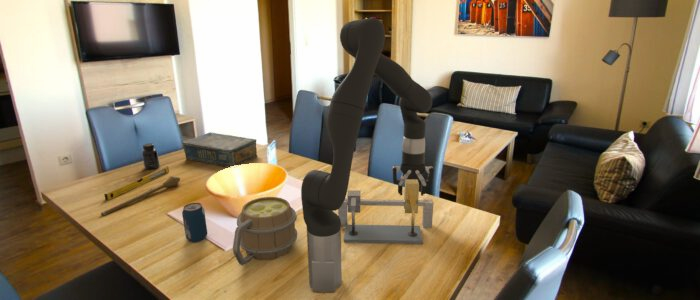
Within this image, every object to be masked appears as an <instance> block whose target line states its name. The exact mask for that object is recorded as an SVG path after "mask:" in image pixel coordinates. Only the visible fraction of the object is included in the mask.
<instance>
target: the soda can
mask: <svg viewBox="0 0 700 300" xmlns="http://www.w3.org/2000/svg"><path fill="white" fill-rule="evenodd" d="M182 209H183V210H182V213H181V214H182V221H183V226H184V227H183V228H184V235H185V238H186V240H187V241H188V242H189V243H194V244H197V243H201V242H203V241H204V240H205V239H206V238H207V236H208V228H207V219H206V213H205V212H206V211H205V208H204V207H203V205H202V204H201V203H200V202H191V203H187V204H185V205H184V206H183V208H182Z"/></svg>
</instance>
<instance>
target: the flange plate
mask: <svg viewBox="0 0 700 300" xmlns="http://www.w3.org/2000/svg"><path fill="white" fill-rule="evenodd" d="M343 243H345V244H348V243H350V244H351V243H353V244H396V245H397V244H399V245H400V244H401V245H403V244H404V245H405V244H406V245H408V244H409V245H410V244H411V245H423V244H424V241H423V236H422V230H421V227H420V225H414V234H411V225H406V224H405V225H404V224H403V225H402V224H401V225H397V224H395V225H394V224H393V225H392V224H355V233H352V224H347V225H345V227H344V233H343Z"/></svg>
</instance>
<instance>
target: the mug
mask: <svg viewBox="0 0 700 300" xmlns="http://www.w3.org/2000/svg"><path fill="white" fill-rule="evenodd" d="M297 217H298V216H297V212H296V210H295V209H294V208H293V207H292V206H291V205H290V202H289V201H288V200H287V199H285V198H282V197H276V196H264V197H257V198H255V199H251V200H250V201H248V202H246V203H245V204H244V205H243V206H242V208H241V211H240V213H239V214H238V215H237V218H236V226H237V227H236V228H235V231H234V237H233V242H232V252H233V255H234V256H235V258H236V260H237V262H238V265H241V266H244V265H246V264H248V263H249V262H251V261H252V260H253V259H254V260H259V261H269V260H270V261H271V260H272V261H273V260H275V259H280V258H282V257H284V256H286V255H287V254H288V253H289V252H290V251H291V250H292V248H293V245H295V243H296V242H297V239H298V230H297V229H296V221H297V219H298V218H297ZM241 249H242V250H243V251H245V252H246V256H245V257H244V256H243V254H242V252H241Z"/></svg>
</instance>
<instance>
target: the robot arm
mask: <svg viewBox="0 0 700 300" xmlns="http://www.w3.org/2000/svg"><path fill="white" fill-rule="evenodd" d="M385 30H386V29H385V26H384V24H383V23H382V21H381V20H380V19H378V18H373V17H371V18H363V19H355V20H351V21H348V22H346V23H345V24H344V25H343V26H342V27H341V29H340V33H339V41H340V44H341V46H342V47H343V49H344V50H345V52H347V54H349V55H350V56H351V57H353V58H354V62H353V65H352V67H351V69H350V71H348V74H347V75H346V76H345V78H343V80H342V81H341V83H340V84H339V85H338V86H337V88H336V89H335V91H334V92H333V95H332V96H331V100H330V103H329V107H328V110H327V113H326V114H327V115H326V120H325V121H326V123H325V125H326V128H327V129H326V130H327V133H328V136H329V140H330V145H331V146H332V153H333V155H332V156H333V158H332V165H331V170H330V172H327V171H323V170H319V169H313V170H310V171H308V172H307V173H306V174H305V175H304V177H303V179H302V183H301V186H300V187H301V190H300V196H301V197H300V198H301V205H302V215H303V216H302V217H303V221H304V223H305V225H306V241H307V247H306V248H307V261H308V262H307V265H308V266H307V267H308V283H309V284H308V285H309V286H310V288H311V289H312V292H314V293H315V292H316V293H336V290H337V289H338V288H340V286H341V284H342V283H343V281H342V279H343V276H342V274H343V273H342V269H343V268H342V227H341V220H340V218H339V216H338V214H337V213H336V212H335V211H338V209H339V208H340V207H341V206H342V204H343V202H344V200H345V198H347V195H348V190H349V189H348V188H349V183H350V175H351V170H352V165H353V164H352V163H353V159H354V152H355V148H356V143H357V140H358V135H359V132H360V128H361V125H362V121H363V118H364V113H365V109H366V105H367V100H368V95H369V92H370V90H371V86H372V81H373V78H374V74H375V75H376V76H377V77H378V78H379V79H380V80H381V81H382V82H383V83H384V84H385V85H386V86H387V87H388V89H390V91H391V92H392V93H393V94H394V95H395V96H396V97H399V108H400V113H401V117H402V121H403V139H402V145H401V148H402V150H401V164H400V165H399V166H398V165H397V166H396V165H392V167H391V168H392V183H393V184H394V185H397V193H398V195H399V196H403V184H405V180H406V179H416V180H419V181H420V182H421V183H420V195H421V197H422V196H423V197H424V195H425V194H426V190H427V189H426V188H427V185H428V186H429V185H432V182H433V176H434V167H433V166H432V165H430V166H425V159H426V157H425V155H426V120H424V119H422V118H421V117H420V116H419V115H418V114H425V113H426V114H427V113H428V112H429V111H430V110H431V108H432V106H433V98H432V95H431V94H430V93H429V91H428V90H427V89H426V88H424V87H423V86H422V85H421V84H419V83H418V82H417V81H415V80H414V79H413V78H412V77H411V75H410V74H409V73H408V71H406V70H405V68H404V67H403V66H401V65H400V64H399V63H398V62H396V61H394V60H393V59H391V58H389V57H388V56H386V55H385V54H383V53H382V52H383V49H384V45H385V40H386V31H385ZM400 171H401V172H402V174H401V176H400V177H399V179H398V177H397V174H398V173H399V172H400ZM425 171H426V173H427V179H425V178H424V176H423V173H424V172H425Z"/></svg>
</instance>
